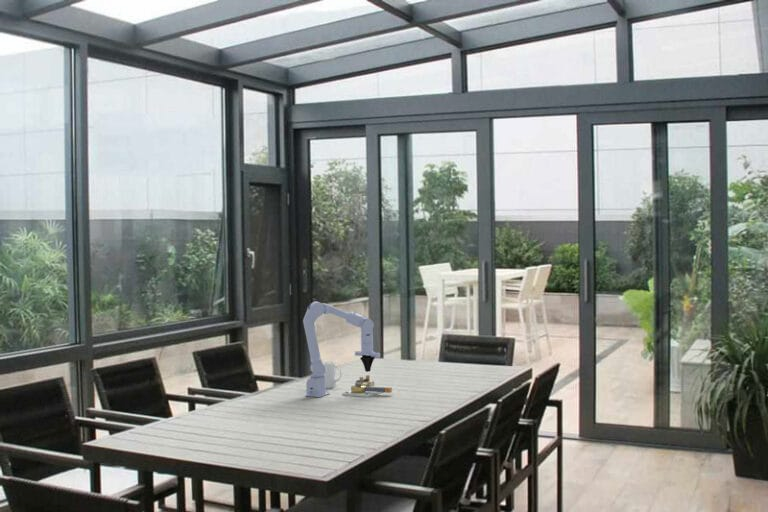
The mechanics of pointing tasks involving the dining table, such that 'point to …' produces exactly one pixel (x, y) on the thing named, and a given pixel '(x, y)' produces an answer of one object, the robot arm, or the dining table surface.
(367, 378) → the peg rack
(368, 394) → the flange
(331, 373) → the mug
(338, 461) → the dining table surface
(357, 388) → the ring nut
